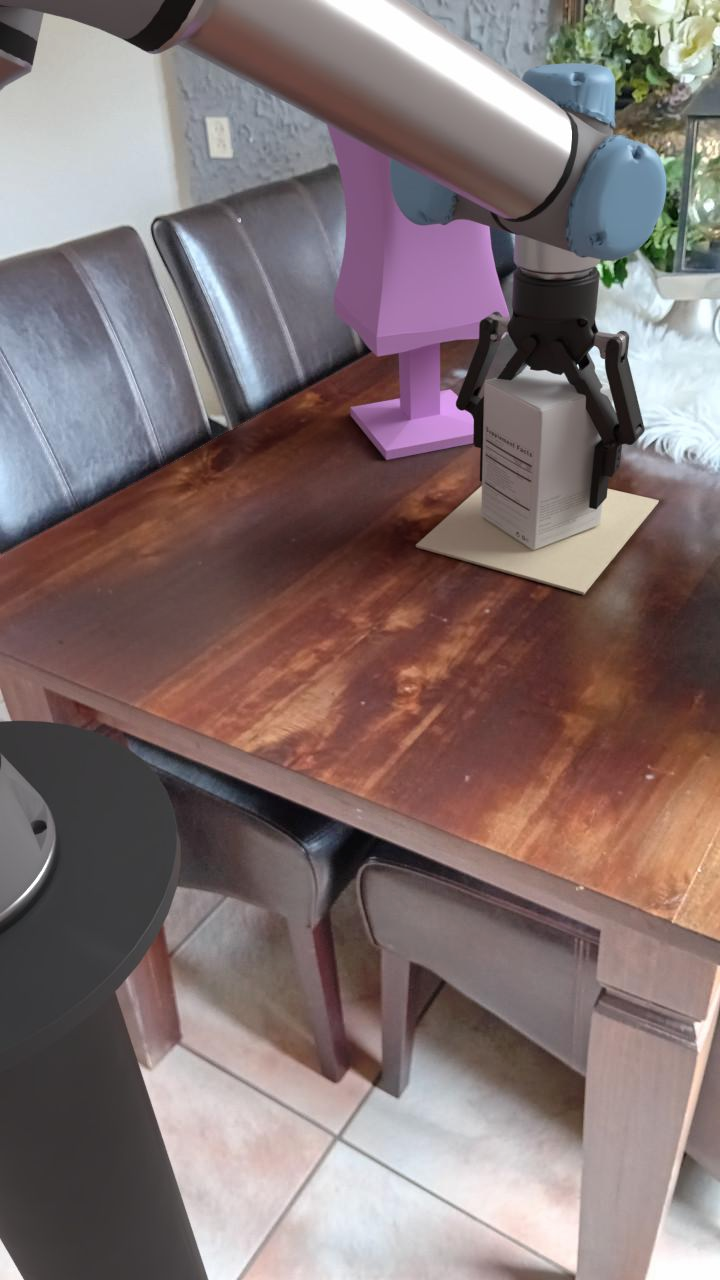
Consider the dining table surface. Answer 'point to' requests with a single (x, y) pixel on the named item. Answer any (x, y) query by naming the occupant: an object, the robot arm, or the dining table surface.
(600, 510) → the rectangular carton
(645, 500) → the placemat
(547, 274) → the robot arm
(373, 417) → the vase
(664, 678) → the dining table surface
